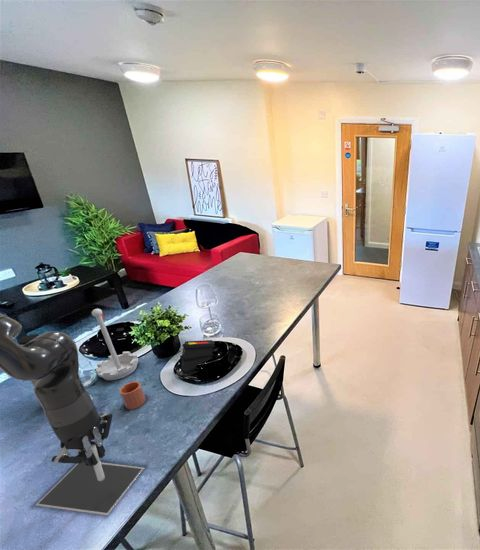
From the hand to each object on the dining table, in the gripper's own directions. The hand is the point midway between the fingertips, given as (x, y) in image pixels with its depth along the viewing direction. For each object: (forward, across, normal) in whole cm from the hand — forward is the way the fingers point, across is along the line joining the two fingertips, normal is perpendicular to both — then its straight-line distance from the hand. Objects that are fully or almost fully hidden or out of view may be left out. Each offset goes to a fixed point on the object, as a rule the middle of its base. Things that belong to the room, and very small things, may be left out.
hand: (96, 460), depth 74 cm
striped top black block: (+13, -47, -5) cm, 49 cm away
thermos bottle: (+13, -25, -44) cm, 52 cm away
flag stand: (+13, -41, -36) cm, 56 cm away
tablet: (+13, 0, -6) cm, 14 cm away
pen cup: (+13, -27, -17) cm, 34 cm away
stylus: (+9, 0, -2) cm, 9 cm away
